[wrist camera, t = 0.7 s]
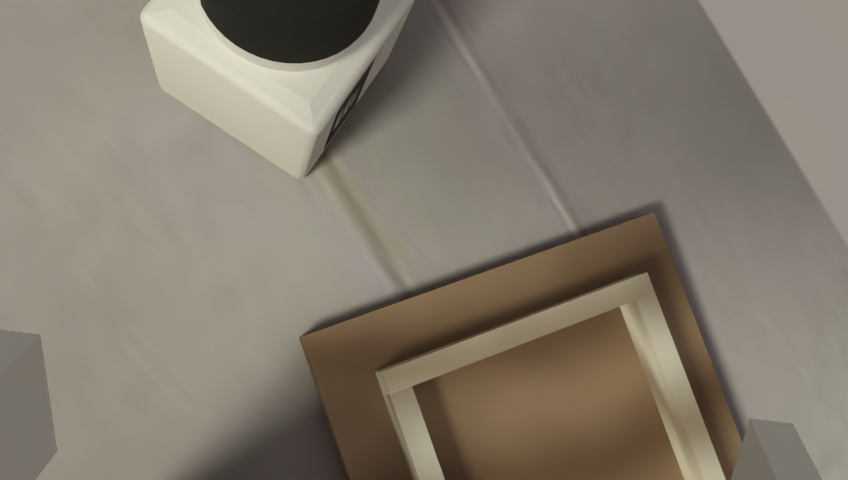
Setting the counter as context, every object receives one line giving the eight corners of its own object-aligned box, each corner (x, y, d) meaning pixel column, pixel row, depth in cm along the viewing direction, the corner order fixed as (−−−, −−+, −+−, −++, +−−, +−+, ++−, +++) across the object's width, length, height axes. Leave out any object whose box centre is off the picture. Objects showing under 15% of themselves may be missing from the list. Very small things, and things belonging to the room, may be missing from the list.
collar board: (299, 337, 36) (304, 334, 33) (642, 216, 40) (673, 204, 37) (435, 737, 34) (453, 770, 31) (774, 564, 39) (817, 580, 36)
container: (390, 55, 39) (461, -94, 26) (301, 184, 37) (332, 88, 24) (254, -39, 38) (260, -239, 25) (156, 88, 36) (110, -62, 24)
